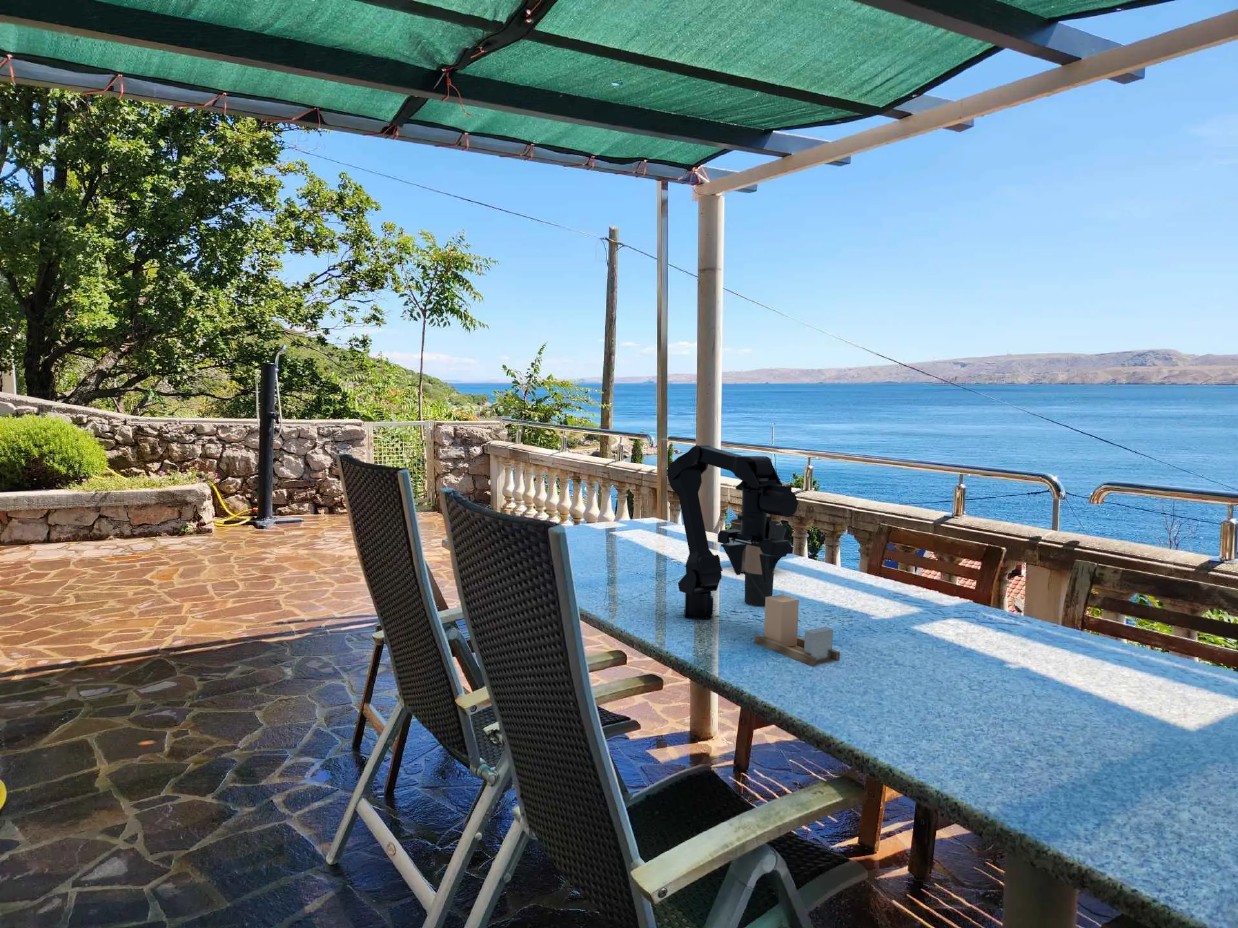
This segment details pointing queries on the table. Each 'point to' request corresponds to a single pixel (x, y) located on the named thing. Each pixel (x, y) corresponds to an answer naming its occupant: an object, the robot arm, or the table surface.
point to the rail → (794, 650)
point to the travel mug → (755, 578)
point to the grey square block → (819, 643)
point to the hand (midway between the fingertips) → (752, 578)
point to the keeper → (781, 619)
